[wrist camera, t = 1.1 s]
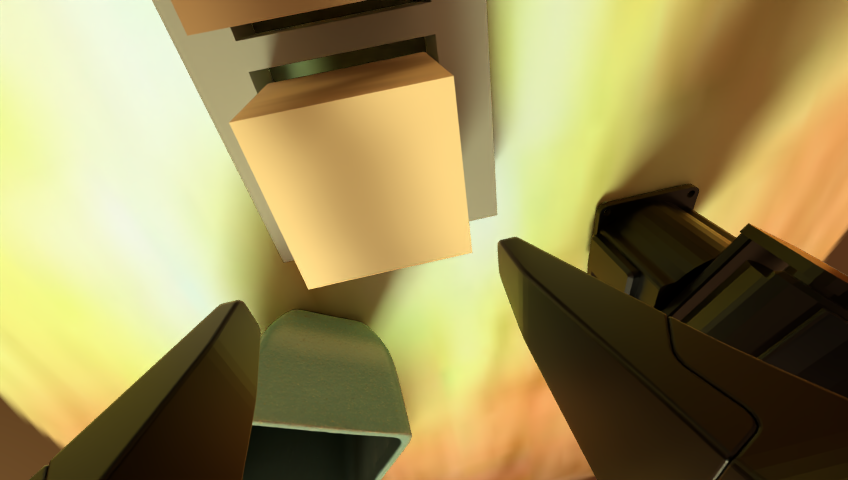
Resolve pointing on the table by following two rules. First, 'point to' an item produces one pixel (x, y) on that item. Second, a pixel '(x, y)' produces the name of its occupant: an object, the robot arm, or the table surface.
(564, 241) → the table surface
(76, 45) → the table surface
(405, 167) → the light brown block
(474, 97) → the grey rectangular tray
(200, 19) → the tan block
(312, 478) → the flower pot
